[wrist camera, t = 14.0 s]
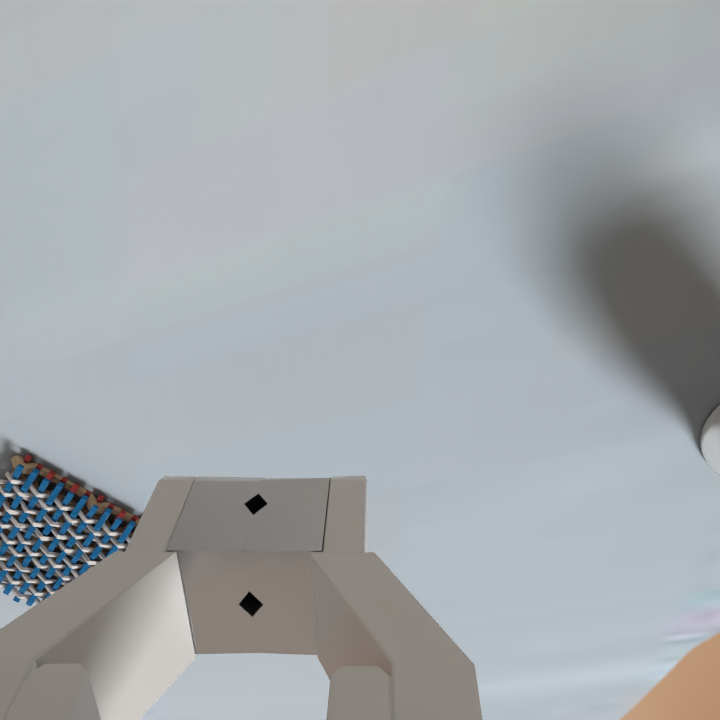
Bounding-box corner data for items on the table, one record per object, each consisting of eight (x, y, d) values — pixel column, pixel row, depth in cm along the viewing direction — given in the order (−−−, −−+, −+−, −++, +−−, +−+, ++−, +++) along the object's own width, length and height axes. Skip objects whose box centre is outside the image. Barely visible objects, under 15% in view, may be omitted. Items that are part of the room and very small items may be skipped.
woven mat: (-43, 551, 45) (-61, 573, 43) (23, 441, 41) (6, 460, 39) (100, 623, 48) (89, 646, 46) (175, 524, 44) (166, 546, 42)
